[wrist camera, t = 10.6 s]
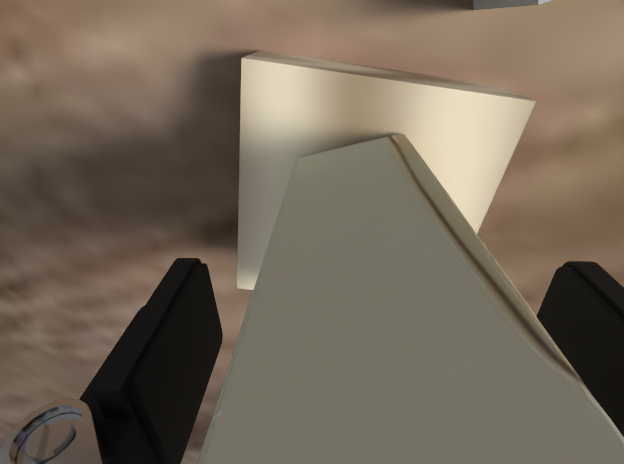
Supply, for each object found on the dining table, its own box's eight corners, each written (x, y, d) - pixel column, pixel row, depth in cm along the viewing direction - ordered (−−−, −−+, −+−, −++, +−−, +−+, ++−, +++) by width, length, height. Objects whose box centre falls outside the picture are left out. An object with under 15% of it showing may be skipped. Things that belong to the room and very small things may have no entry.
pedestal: (489, 83, 15) (535, 101, 12) (422, 265, 20) (440, 314, 17) (261, 49, 15) (241, 57, 11) (252, 242, 20) (236, 287, 17)
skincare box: (422, 265, 15) (633, 777, 5) (324, 283, 16) (322, 764, 6) (403, 124, 12) (856, 662, 2) (284, 154, 13) (110, 668, 3)
